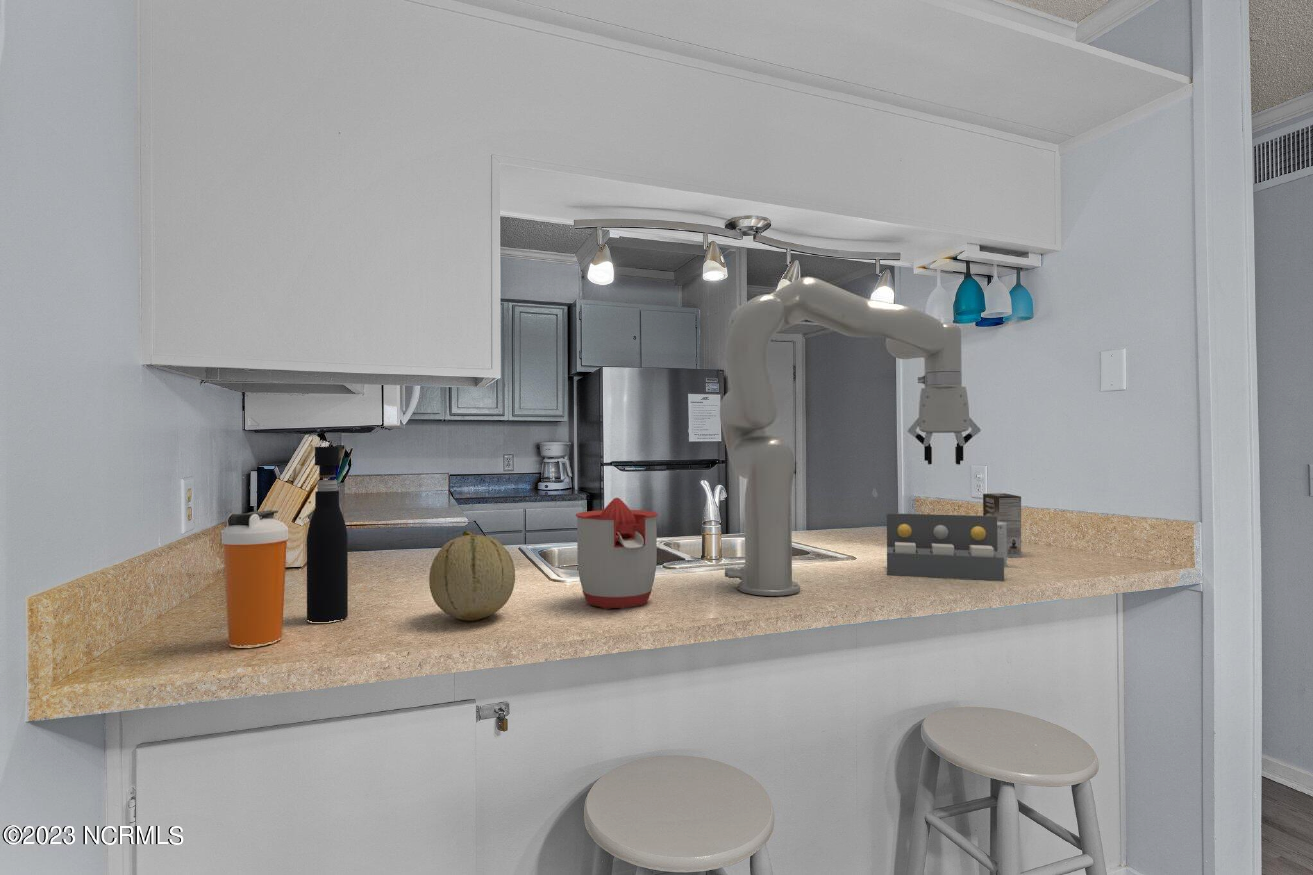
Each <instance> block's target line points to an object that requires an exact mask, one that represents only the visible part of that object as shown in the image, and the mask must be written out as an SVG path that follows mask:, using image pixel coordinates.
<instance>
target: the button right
mask: <svg viewBox="0 0 1313 875" xmlns="http://www.w3.org/2000/svg"><path fill="white" fill-rule="evenodd" d="M970 556H988V557H994V548H993V547H992V546H983V545H970Z"/></svg>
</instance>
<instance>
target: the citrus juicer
mask: <svg viewBox="0 0 1313 875" xmlns="http://www.w3.org/2000/svg"><path fill="white" fill-rule="evenodd" d="M658 515H659V513H658V512H656V511H651V510H650V511H649V510H642V509H641V510H639V509H630V508H629V507H628V505H627V504H626V503H625V502H624V501H623V500H622V499H621V498H620V497H614V498H613V499H612V500H611V501H610V502H609V503H608V504H607V505H606V506H605V508H604V509H602V510H591V511H590V510H589V511H582V512H578V513H576V514H575V517H576V521H577V522H576V526H577V527H576V528H577V529H576V531H577V533H576V534H577V539H576V542H577V545H576V546H577V548H576V549H577V551H576V553H577V554H576V556H577V572H578V577H579V583H580V585H581V589H582V593H583V596H584V599H585V601H586V603H587V604H588V605H591V606H594V607H600V608H601V609H602V610H610V609H611V610H612V609H613V608H617V609H618V608H619V609H620V608H630V607H641V606H644V605H645V604H646V603H647V602H648V601H649V598H650V597H651V594H652V590H653V585H654V581H655V579H656V578H655V577H656V572H657V560H658V556H657V555H658V554H657V552H658V551H657V550H658V549H657V546H658V545H657V544H658V542H657V540H658V539H657V531H658V530H657V517H658Z"/></svg>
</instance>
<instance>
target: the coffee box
mask: <svg viewBox="0 0 1313 875" xmlns="http://www.w3.org/2000/svg"><path fill="white" fill-rule="evenodd" d="M982 512H983V513H982V516H997V522H1003V523H1007V558H1022V496H1021V495H1017V494H1010V493H1001V492H1000V493H982Z"/></svg>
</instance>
